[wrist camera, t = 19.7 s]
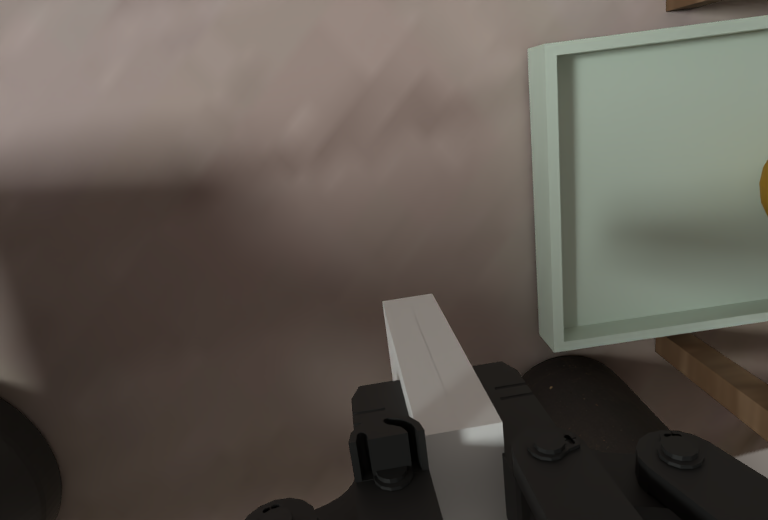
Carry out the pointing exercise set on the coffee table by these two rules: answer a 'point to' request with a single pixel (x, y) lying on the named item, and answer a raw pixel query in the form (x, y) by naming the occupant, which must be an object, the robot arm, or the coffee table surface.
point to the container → (592, 403)
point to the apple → (764, 187)
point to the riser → (708, 366)
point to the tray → (650, 182)
